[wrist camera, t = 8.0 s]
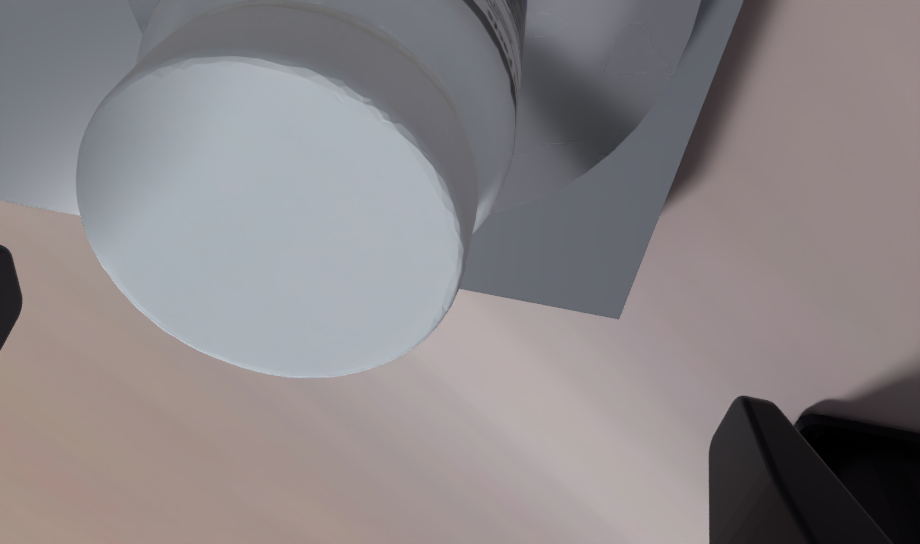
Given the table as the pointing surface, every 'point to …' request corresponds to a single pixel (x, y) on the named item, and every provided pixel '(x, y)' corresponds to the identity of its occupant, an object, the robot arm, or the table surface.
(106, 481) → the table surface
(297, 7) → the pill bottle
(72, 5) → the scale
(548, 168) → the scale pan
